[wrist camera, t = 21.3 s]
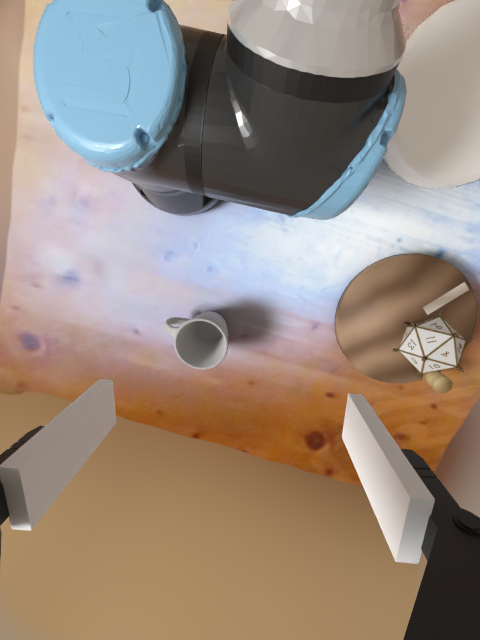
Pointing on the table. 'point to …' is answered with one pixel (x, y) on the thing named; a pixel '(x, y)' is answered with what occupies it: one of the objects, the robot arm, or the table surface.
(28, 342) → the table surface
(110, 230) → the table surface
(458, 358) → the game die
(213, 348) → the cup
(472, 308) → the turntable
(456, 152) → the container
